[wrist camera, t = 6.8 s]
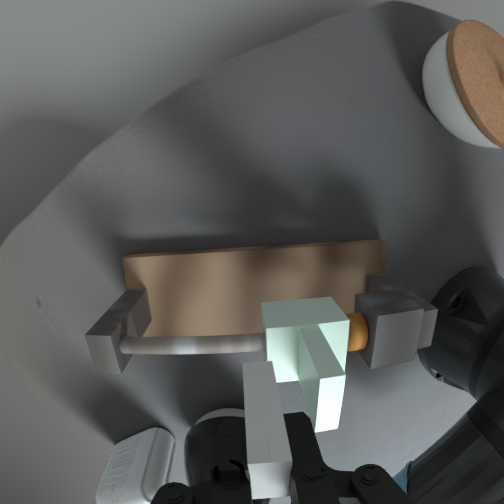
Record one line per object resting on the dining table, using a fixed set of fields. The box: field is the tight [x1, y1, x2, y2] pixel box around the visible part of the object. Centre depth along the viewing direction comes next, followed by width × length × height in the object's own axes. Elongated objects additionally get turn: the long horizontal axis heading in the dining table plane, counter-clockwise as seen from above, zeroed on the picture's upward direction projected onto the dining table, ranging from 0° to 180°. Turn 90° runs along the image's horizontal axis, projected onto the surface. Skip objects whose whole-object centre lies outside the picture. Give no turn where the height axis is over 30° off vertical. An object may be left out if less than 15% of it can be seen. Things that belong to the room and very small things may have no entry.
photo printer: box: [96, 427, 176, 504], centre depth 26 cm, size 10×4×12 cm, turn 127°
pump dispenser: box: [184, 408, 271, 504], centre depth 24 cm, size 10×10×15 cm
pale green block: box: [261, 297, 350, 432], centre depth 17 cm, size 5×4×9 cm
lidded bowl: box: [422, 20, 504, 148], centre depth 19 cm, size 13×13×11 cm
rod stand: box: [85, 239, 438, 374], centre depth 23 cm, size 24×9×11 cm, turn 93°
